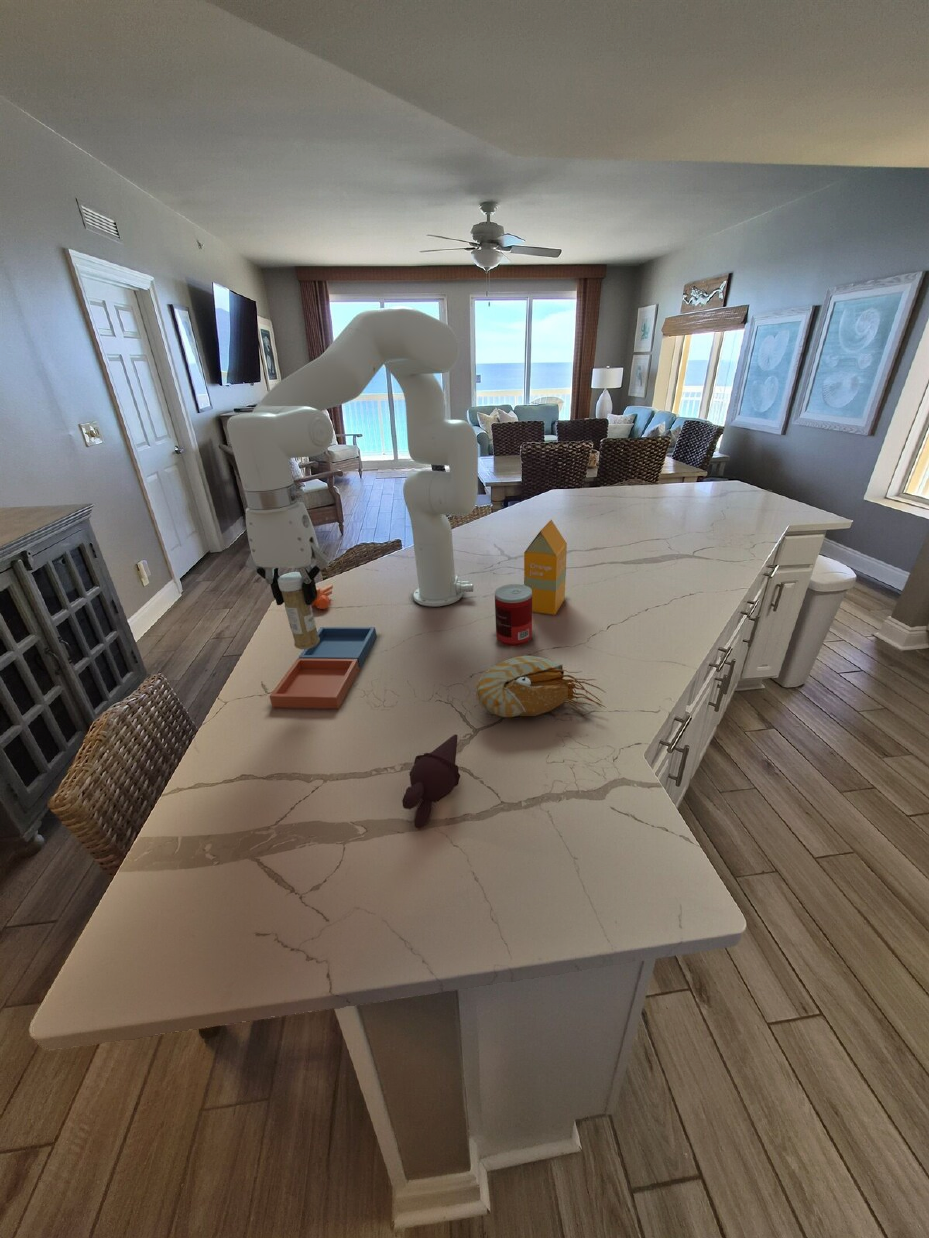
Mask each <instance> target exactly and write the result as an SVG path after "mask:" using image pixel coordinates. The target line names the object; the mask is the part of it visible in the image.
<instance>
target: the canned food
mask: <svg viewBox="0 0 929 1238" xmlns="http://www.w3.org/2000/svg"><path fill="white" fill-rule="evenodd" d="M494 613H495V615H494V617H495V636H496V639H497V641H498V642H499V643H500V644H502V645H503V646H507V647H521V646H524V645H526V644H527V643H529V642H530V641H531V639H532V636H533V611H532V590H531V589H530V588H529V587H527V586H525V585H524V584H518V583H512V584H505V585H502V586H499V587H498V588H497V589H496V590H495V591H494Z"/></svg>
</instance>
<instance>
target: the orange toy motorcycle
mask: <svg viewBox="0 0 929 1238" xmlns="http://www.w3.org/2000/svg"><path fill="white" fill-rule="evenodd" d="M333 588H334V586H333V584H331V583H328V584H326V585H324V586H322V587H319V586H316V589H317V597H316V599H315V601H314V602H313V603H312V604H311V607H312V609H313V608H315V607H316V608H318V609H320V610H327V609H328V608H329V605H330V604H331V602H332V601H331V599H330V597H329V596H330V595H332V594H333Z"/></svg>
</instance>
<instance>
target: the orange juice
mask: <svg viewBox="0 0 929 1238" xmlns="http://www.w3.org/2000/svg"><path fill="white" fill-rule="evenodd" d="M567 548H568V543H567V541H566V540H565V539H564V537H563V535H562V534H561V532H560V530H559V529H558V527H557V526H556V524H555V522H554V521H553V519H550V520H549V521H548V522H547V523H546V524H545V525H544V527H542V528H541V529H540V531H538V533H537V535H536V536H535V537H534V539H532V541H531V543H530V544H529V545H528V546H527V548H526V549H525V551H524V552H523V585H525V586H527V587H529V588H530V589H531V590H532V612H534V613H542V614H548V615H554V616H555V615H556V614H557V613H558V611H559V609H560V608H561V606H562V604H563V603H564V601H565V599H566V579H567V578H566V577H567V554H568V553H567V552H568V551H567Z"/></svg>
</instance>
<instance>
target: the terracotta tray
mask: <svg viewBox="0 0 929 1238" xmlns="http://www.w3.org/2000/svg"><path fill="white" fill-rule="evenodd" d="M359 672H360V668H359V664H358V659H310V658H299V657H298V658H296V659H295V661H294V662H293V664H292V665H291V666H290V667H289V668H288V671H287V672H286V673H285V674H284V676H283V677H282V678H281V680H280V681H279V682H278V684H277V685H276V686H275V688H274V689H273V690H272V692H271V693H270V695H269V696H268V697H269V700H270V703H271V707H272V708H287V709H288V708H289V709H291V708H293V709H294V708H295V709H334V710H335V709H336V710H337V709H338V710H339V709H340V707H341V705H342V703H343V701H344V700H345V697H346V695H347V694H348V692H349V690H350V688H351V686H352V684H353V683H354V681H355V679H356V677H357V675H358V673H359Z"/></svg>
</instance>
